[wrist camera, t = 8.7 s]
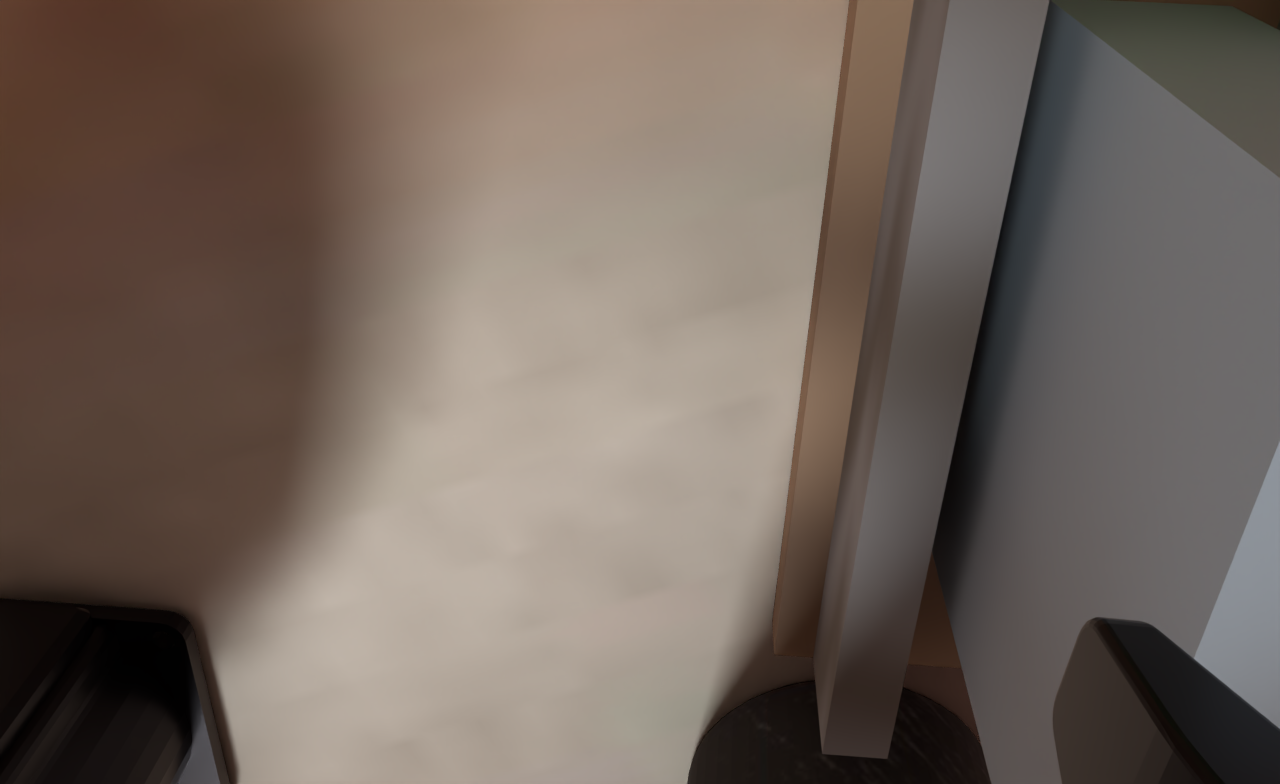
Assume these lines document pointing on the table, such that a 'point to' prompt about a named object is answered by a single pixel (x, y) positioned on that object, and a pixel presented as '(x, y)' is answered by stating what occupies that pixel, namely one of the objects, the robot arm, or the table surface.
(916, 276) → the track base
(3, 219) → the table surface
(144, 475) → the table surface
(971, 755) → the travel mug
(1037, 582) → the door panel
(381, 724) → the table surface
